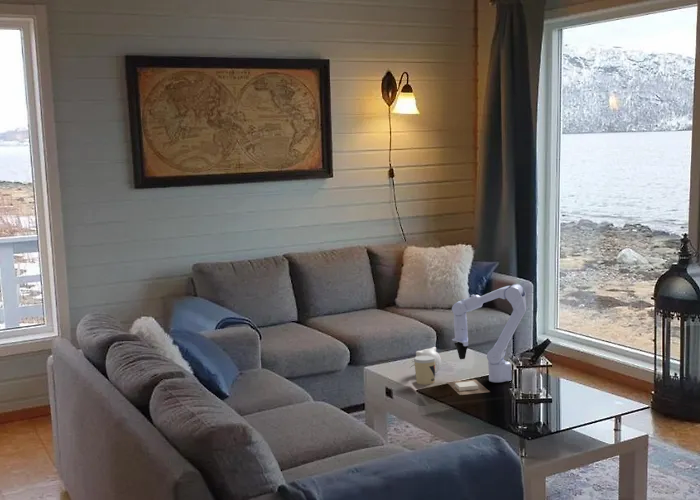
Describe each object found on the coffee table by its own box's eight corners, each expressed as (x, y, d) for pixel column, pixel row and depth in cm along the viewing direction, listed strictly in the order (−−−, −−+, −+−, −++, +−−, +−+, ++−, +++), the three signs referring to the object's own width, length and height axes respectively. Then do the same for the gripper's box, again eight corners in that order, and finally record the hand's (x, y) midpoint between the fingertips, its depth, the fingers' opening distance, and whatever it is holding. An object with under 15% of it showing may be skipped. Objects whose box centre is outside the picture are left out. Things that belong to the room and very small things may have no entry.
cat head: (426, 381, 351) (424, 354, 350) (407, 376, 362) (405, 350, 361) (451, 374, 360) (449, 348, 359) (431, 369, 371) (430, 344, 369)
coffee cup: (435, 387, 341) (434, 360, 340) (414, 387, 343) (413, 360, 341) (437, 381, 350) (436, 355, 349) (415, 381, 352) (414, 355, 350)
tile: (473, 381, 337) (478, 385, 330) (473, 385, 337) (478, 389, 330) (455, 382, 336) (459, 387, 329) (455, 386, 336) (459, 391, 329)
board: (475, 382, 345) (475, 379, 345) (490, 394, 326) (490, 391, 326) (446, 385, 344) (446, 382, 344) (459, 397, 324) (459, 395, 324)
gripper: (447, 326, 353) (449, 355, 354) (456, 332, 339) (458, 363, 340) (462, 324, 354) (464, 354, 355) (472, 331, 340) (473, 362, 341)
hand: (462, 358), depth 348 cm, fingers closed
